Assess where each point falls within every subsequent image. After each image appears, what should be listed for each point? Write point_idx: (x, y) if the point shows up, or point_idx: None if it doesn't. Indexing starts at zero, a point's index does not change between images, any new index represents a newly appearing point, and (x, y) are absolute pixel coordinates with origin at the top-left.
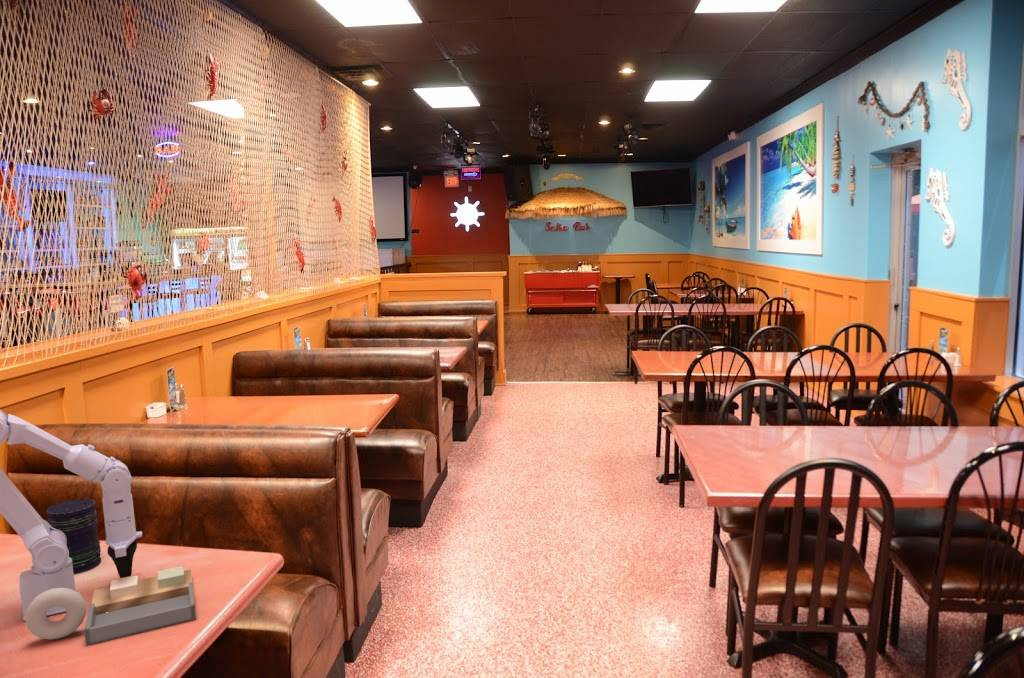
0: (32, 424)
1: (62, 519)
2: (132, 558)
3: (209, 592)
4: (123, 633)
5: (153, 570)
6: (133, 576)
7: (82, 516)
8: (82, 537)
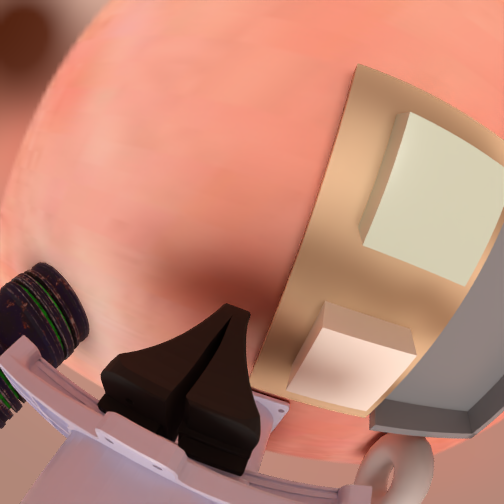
0: None
1: (7, 417)
2: (247, 375)
3: None
4: None
5: (154, 175)
6: (321, 341)
7: None
8: None
